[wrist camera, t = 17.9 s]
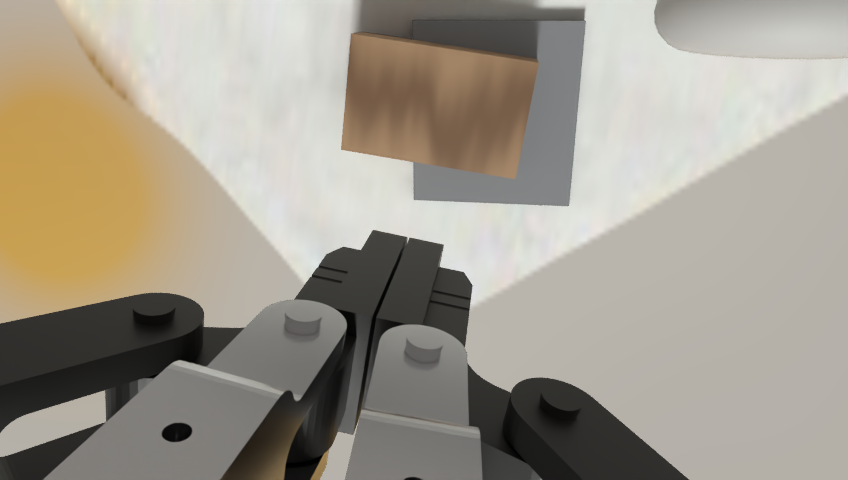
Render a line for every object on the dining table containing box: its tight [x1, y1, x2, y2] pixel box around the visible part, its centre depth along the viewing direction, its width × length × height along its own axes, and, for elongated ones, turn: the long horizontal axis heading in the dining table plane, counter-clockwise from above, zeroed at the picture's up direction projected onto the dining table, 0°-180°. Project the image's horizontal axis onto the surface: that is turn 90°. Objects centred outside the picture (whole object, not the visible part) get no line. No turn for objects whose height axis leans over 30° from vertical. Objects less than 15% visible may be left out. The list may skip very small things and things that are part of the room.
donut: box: [654, 0, 848, 59], centre depth 26 cm, size 10×4×10 cm, turn 91°
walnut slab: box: [341, 32, 539, 179], centre depth 32 cm, size 6×2×10 cm
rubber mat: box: [413, 20, 586, 206], centre depth 34 cm, size 9×10×1 cm
